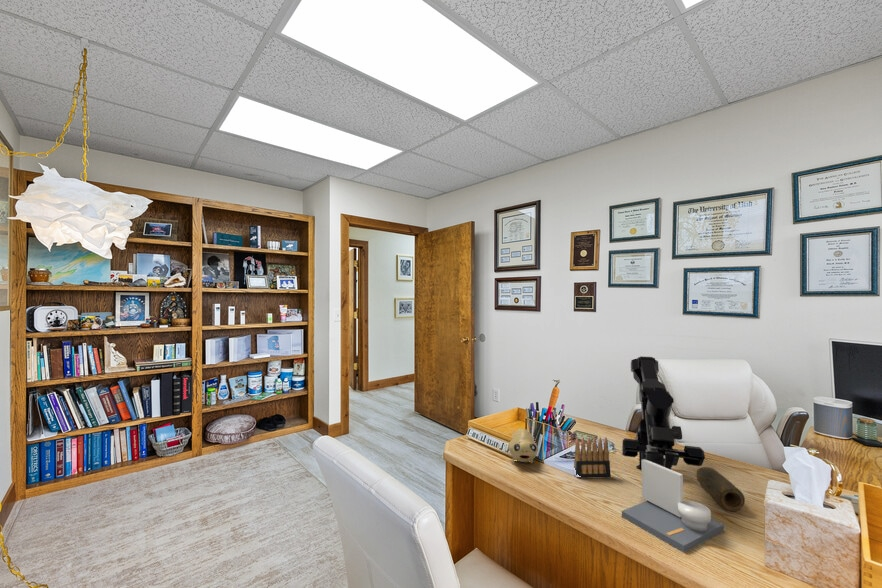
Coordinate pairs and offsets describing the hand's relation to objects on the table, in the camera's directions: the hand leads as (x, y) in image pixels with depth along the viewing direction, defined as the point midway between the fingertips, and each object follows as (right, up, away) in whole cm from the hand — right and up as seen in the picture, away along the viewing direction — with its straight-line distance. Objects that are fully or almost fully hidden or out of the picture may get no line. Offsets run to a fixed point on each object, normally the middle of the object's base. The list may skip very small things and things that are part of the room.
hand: (665, 484), depth 95 cm
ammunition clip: (-10, -8, +20) cm, 24 cm away
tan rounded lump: (-29, -8, +31) cm, 43 cm away
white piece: (0, -5, -3) cm, 6 cm away
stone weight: (+19, -8, +7) cm, 22 cm away
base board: (-1, -7, -4) cm, 8 cm away
